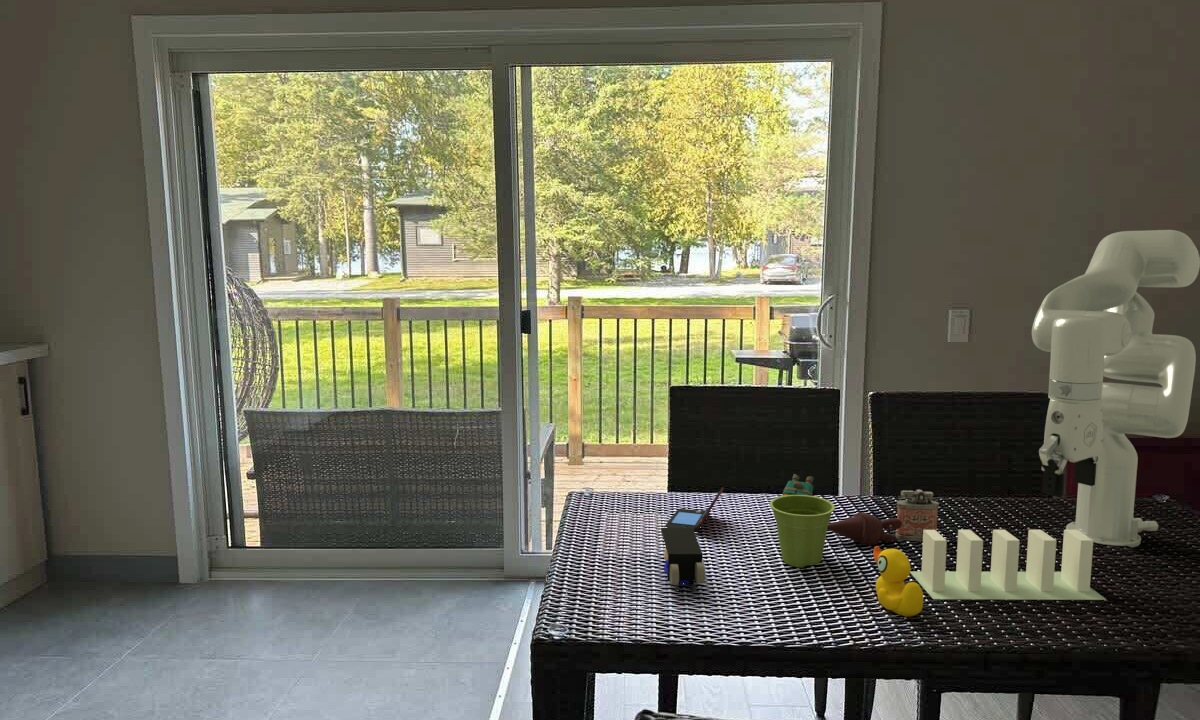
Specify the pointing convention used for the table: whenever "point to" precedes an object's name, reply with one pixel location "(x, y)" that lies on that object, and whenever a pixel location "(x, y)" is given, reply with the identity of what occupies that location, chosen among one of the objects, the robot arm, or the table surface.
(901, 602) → the duckling
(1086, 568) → the domino
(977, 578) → the domino
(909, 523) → the lighter
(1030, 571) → the domino
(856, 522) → the icecream
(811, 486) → the binoculars
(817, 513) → the plant pot
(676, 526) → the handheld game console
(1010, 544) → the domino
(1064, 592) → the board
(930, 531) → the domino
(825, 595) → the table surface
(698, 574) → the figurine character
